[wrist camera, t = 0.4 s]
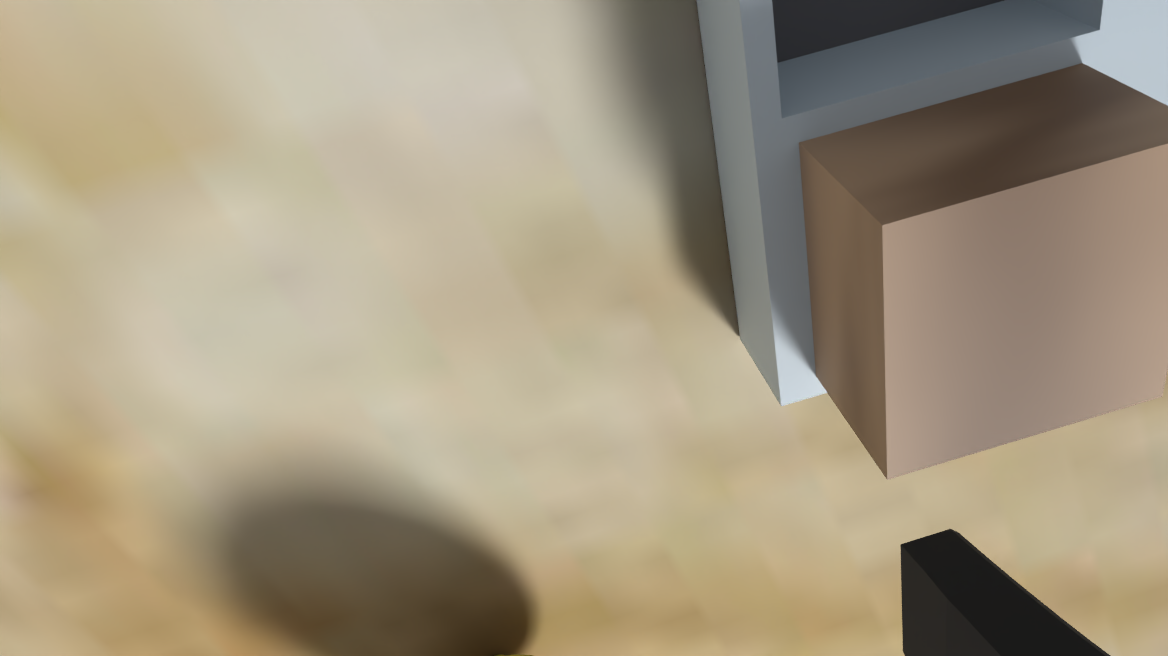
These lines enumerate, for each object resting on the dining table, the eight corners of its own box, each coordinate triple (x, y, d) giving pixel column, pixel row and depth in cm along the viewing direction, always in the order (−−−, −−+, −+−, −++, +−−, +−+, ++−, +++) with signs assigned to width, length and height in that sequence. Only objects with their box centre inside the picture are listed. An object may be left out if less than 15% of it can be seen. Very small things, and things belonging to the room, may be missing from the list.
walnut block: (1082, 63, 16) (1215, 129, 14) (1055, 305, 19) (1162, 396, 16) (799, 142, 16) (882, 225, 13) (815, 375, 19) (886, 479, 16)
